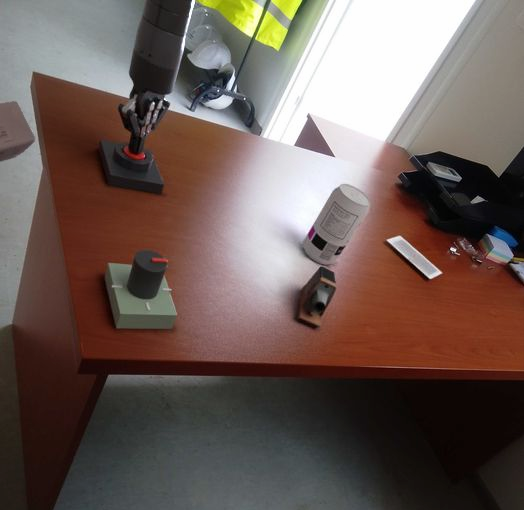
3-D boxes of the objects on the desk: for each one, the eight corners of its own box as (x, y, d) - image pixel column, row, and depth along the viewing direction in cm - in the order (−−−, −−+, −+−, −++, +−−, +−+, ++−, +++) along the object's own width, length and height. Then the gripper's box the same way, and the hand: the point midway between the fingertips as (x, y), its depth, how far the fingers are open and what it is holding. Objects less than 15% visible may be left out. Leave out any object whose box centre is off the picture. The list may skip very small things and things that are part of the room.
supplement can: (295, 240, 98) (329, 179, 88) (323, 242, 103) (359, 185, 93) (311, 265, 94) (349, 204, 84) (340, 267, 99) (380, 209, 89)
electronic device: (295, 321, 80) (316, 290, 75) (299, 290, 87) (318, 259, 82) (317, 331, 81) (339, 301, 76) (319, 299, 88) (340, 270, 83)
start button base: (98, 149, 89) (101, 130, 87) (148, 160, 95) (153, 142, 92) (108, 185, 83) (112, 165, 80) (161, 194, 88) (166, 176, 86)
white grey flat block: (397, 238, 122) (402, 232, 120) (439, 276, 117) (445, 269, 116) (383, 243, 116) (388, 236, 115) (427, 282, 112) (433, 276, 110)
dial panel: (102, 277, 67) (106, 261, 65) (158, 281, 72) (163, 266, 70) (113, 328, 62) (118, 312, 60) (173, 329, 67) (179, 314, 65)
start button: (120, 152, 87) (121, 143, 86) (140, 156, 89) (142, 148, 88) (123, 164, 85) (125, 155, 84) (144, 168, 87) (147, 159, 86)
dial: (131, 299, 63) (140, 269, 59) (123, 277, 65) (131, 247, 61) (161, 299, 65) (171, 270, 61) (153, 278, 67) (162, 249, 64)
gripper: (153, 70, 70) (129, 171, 81) (196, 64, 79) (170, 155, 91) (113, 44, 70) (95, 148, 81) (161, 41, 80) (139, 134, 91)
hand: (134, 151), depth 86 cm, fingers closed
